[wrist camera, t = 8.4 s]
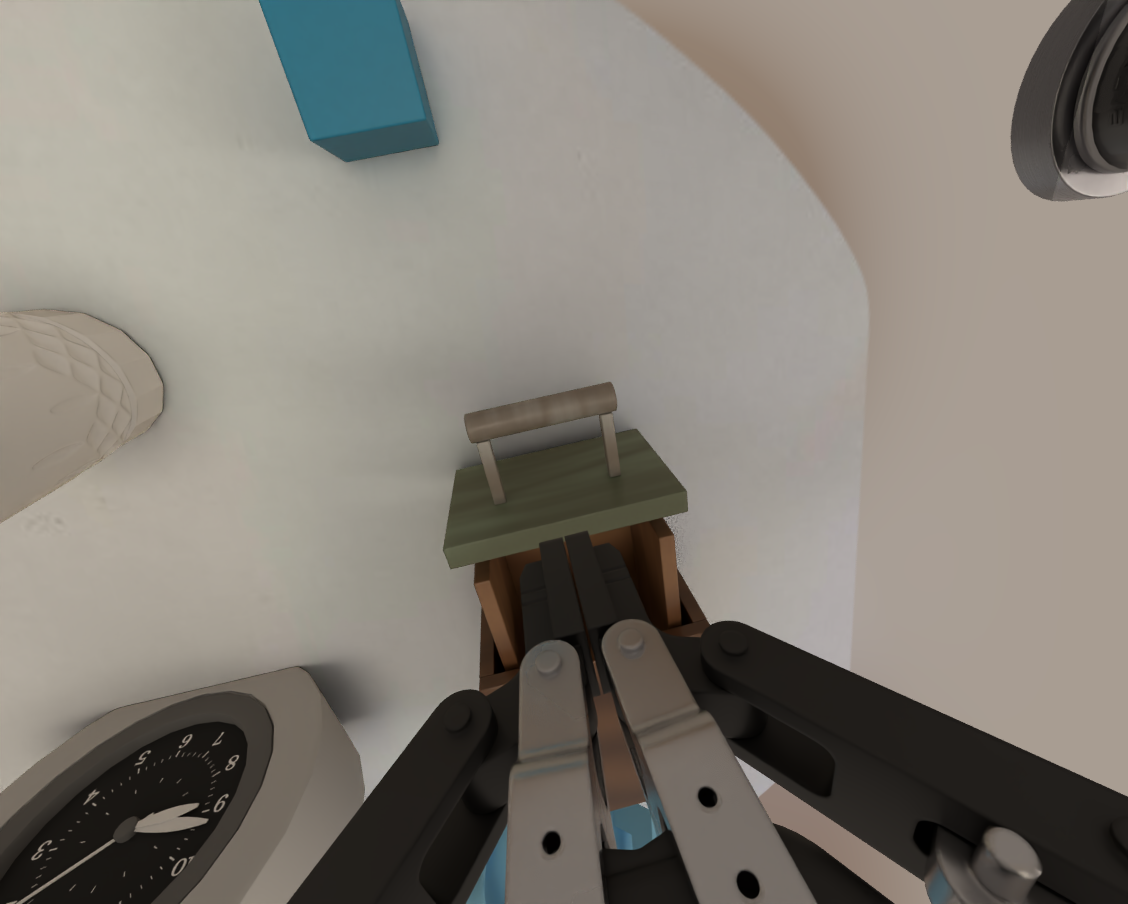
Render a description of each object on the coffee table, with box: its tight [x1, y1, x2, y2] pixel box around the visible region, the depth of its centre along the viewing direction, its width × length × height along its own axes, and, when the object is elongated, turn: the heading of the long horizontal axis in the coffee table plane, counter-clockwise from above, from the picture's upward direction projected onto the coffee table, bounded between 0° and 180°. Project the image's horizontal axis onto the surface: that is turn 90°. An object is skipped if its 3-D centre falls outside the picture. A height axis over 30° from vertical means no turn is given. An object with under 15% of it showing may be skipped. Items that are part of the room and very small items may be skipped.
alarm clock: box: [0, 667, 365, 904], centre depth 24 cm, size 21×8×20 cm, turn 99°
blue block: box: [259, 0, 439, 162], centre depth 17 cm, size 4×4×4 cm
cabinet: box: [479, 569, 710, 811], centre depth 30 cm, size 15×13×10 cm
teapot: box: [466, 804, 657, 904], centre depth 38 cm, size 19×19×14 cm
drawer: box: [443, 382, 688, 672], centre depth 25 cm, size 18×11×8 cm, turn 10°
